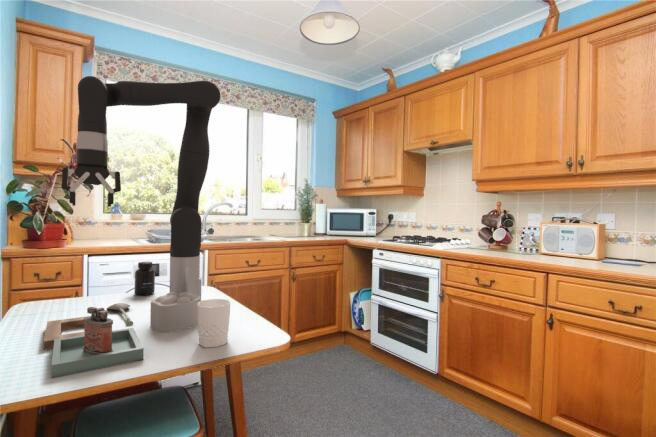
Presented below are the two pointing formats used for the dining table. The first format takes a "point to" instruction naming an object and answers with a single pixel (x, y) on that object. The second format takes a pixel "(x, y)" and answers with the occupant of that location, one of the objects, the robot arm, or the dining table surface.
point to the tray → (76, 360)
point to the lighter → (97, 332)
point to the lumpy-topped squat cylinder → (174, 312)
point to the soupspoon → (121, 307)
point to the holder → (56, 326)
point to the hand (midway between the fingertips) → (92, 205)
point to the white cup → (213, 322)
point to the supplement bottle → (144, 279)
